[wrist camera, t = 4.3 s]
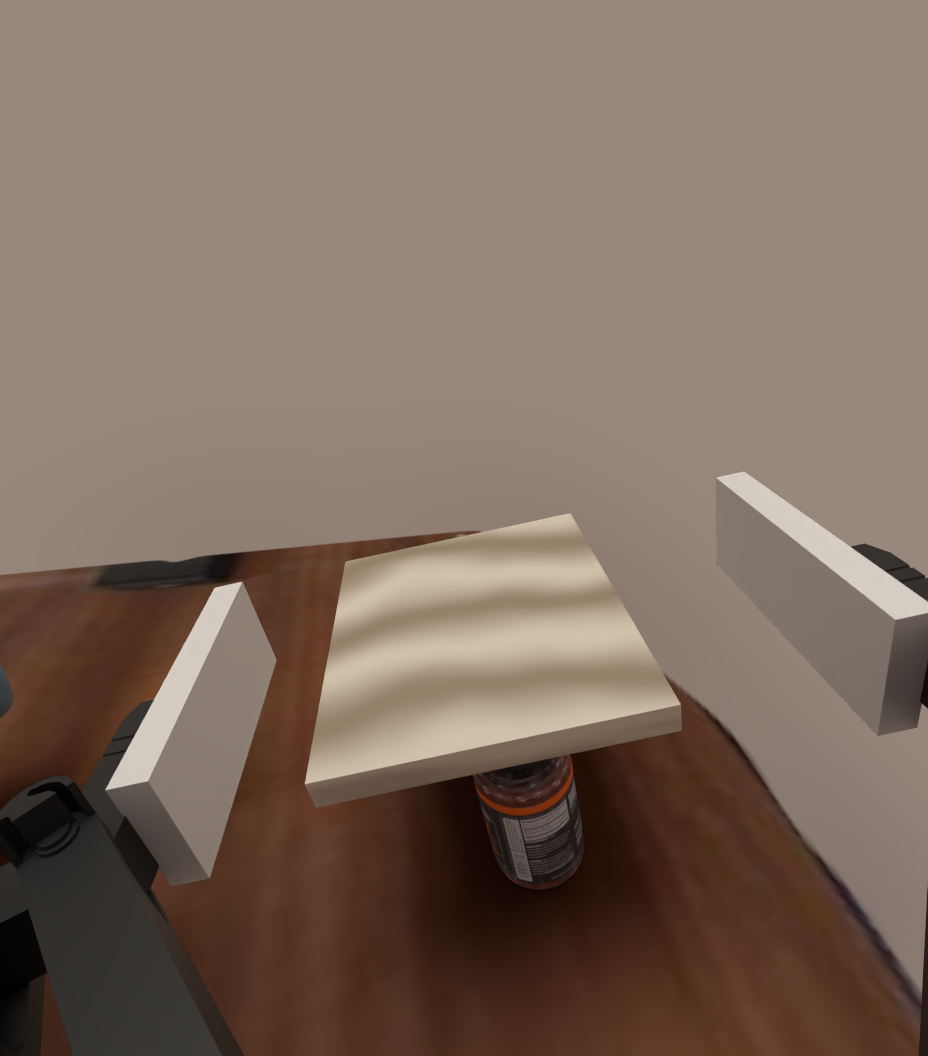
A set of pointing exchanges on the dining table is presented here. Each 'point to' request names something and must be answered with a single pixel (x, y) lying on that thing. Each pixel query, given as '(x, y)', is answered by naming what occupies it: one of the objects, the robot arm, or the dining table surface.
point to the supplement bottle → (533, 821)
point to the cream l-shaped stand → (479, 663)
